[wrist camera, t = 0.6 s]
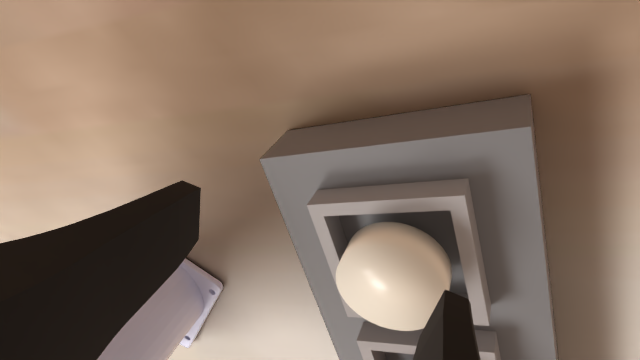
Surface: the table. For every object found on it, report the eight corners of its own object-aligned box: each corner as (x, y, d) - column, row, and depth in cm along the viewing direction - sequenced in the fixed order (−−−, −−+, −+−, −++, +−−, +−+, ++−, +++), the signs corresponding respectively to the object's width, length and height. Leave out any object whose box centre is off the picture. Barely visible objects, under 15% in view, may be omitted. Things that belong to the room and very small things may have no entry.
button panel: (571, 482, 29) (576, 560, 25) (401, 449, 34) (387, 510, 30) (530, 94, 18) (531, 142, 14) (287, 130, 23) (246, 172, 19)
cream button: (460, 306, 19) (456, 334, 18) (361, 302, 21) (351, 327, 20) (441, 219, 17) (434, 244, 16) (334, 223, 19) (322, 245, 18)
